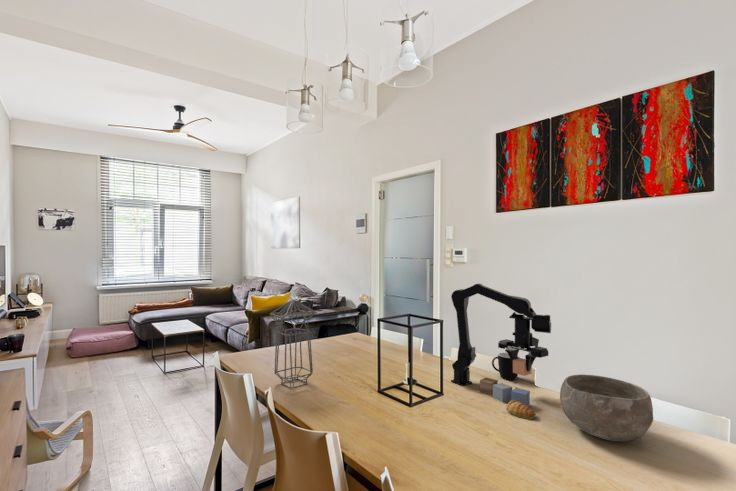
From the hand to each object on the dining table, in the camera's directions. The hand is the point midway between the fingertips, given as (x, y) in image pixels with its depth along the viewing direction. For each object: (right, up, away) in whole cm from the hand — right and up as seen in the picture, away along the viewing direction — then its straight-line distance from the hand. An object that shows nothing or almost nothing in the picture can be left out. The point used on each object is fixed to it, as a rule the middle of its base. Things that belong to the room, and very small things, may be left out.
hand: (522, 369), depth 150 cm
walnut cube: (-13, -9, +1) cm, 16 cm away
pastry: (-8, -10, -19) cm, 22 cm away
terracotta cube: (0, -1, 0) cm, 1 cm away
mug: (0, -10, +20) cm, 22 cm away
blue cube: (-5, -9, -11) cm, 15 cm away
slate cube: (-10, -9, -6) cm, 15 cm away
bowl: (+12, -9, -33) cm, 36 cm away
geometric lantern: (-93, -9, +9) cm, 94 cm away
